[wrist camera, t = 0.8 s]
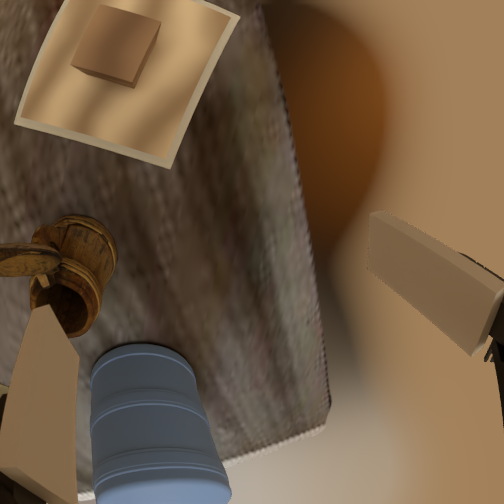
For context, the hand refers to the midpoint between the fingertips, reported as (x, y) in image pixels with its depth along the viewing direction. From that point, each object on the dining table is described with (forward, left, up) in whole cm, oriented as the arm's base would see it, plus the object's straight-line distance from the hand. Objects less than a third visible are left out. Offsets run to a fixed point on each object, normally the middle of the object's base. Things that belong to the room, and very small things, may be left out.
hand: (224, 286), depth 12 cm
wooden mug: (-8, -10, -24) cm, 27 cm away
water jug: (+5, -30, -24) cm, 39 cm away
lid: (-9, +9, -23) cm, 26 cm away
